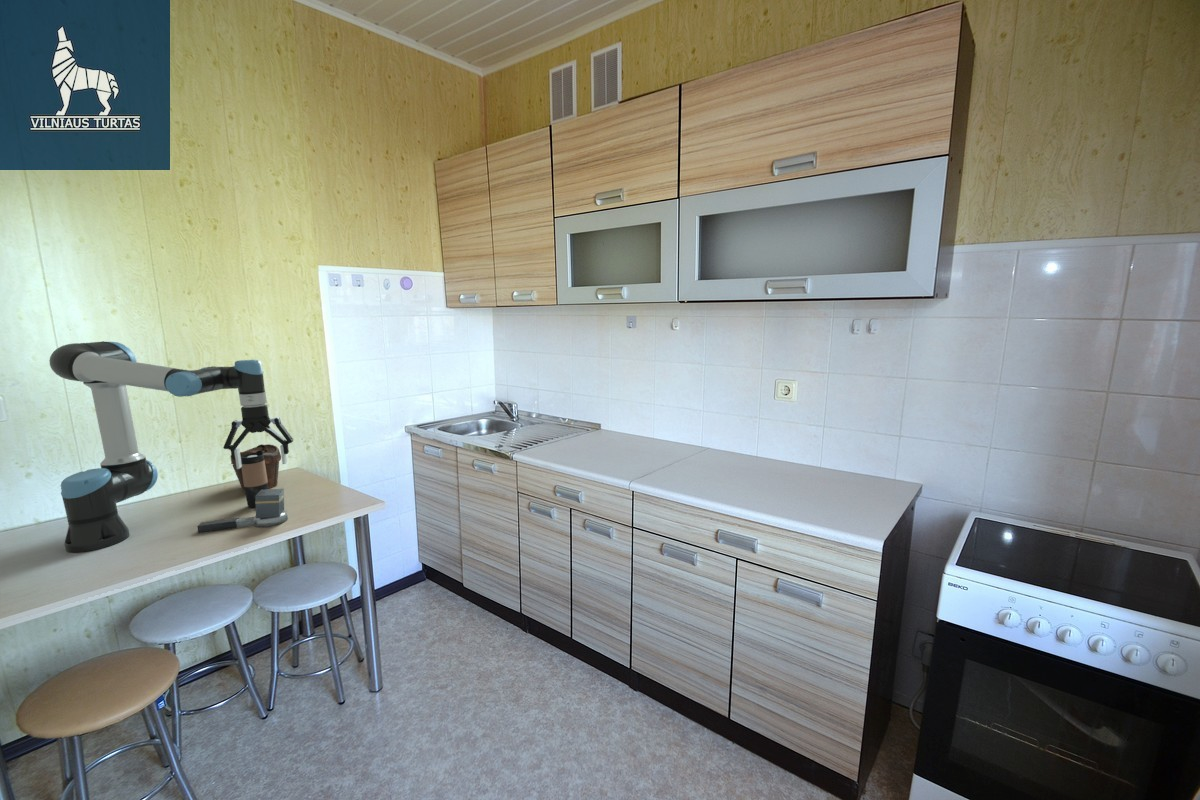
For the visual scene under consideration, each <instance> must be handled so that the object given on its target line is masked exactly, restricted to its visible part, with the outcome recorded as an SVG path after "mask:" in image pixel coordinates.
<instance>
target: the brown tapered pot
mask: <svg viewBox="0 0 1200 800" xmlns="http://www.w3.org/2000/svg"><path fill="white" fill-rule="evenodd" d="M250 453H263V454H264V461H265V467H266V473H267V480H268V489H273V488H274V487H277V486H278V484H279V483H278V479H279V470H280V469H279V468H280V461H282V456H281V450H280V449H279V448H278V447H277V445H274V444H270V443H269V444H259V445H257V446H255V447H253V448H250V449H247V450H245V451H240V456H242V455H246V454H250ZM229 458H230V461H231V463H230V465H232V468H233V470H234V472H235V473H234V474H235V476H236V477H237V480H238V483H239V486H240V487H241V490H242V491H243V492H245V489H244V482H243V475H242V468H240V469H237V466H236V460H235V459H232V455H230V457H229Z"/></svg>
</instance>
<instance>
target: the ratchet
mask: <svg viewBox="0 0 1200 800" xmlns="http://www.w3.org/2000/svg"><path fill="white" fill-rule="evenodd" d="M288 519H289V518H288V512H287V510H286V509H284V511H283V512H282V514H281V515H280V517H271V518H256V515H254V516H250V517H249V516H248V517H243V518H240V517H233V518H231V517H230V518H225V519H216V520H210V521H202V522H200V523H199V524H198V525H197V533H198V534H203V533H211V532H217V531H218V532H219V531H224V530H233V529H239V528H243V527H255V528H260V529H262V528H271V527H276V526H278V525H281V524H283V523H285V522H287V521H288Z"/></svg>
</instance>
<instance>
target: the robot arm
mask: <svg viewBox="0 0 1200 800" xmlns="http://www.w3.org/2000/svg"><path fill="white" fill-rule="evenodd" d="M49 366H50V369H51V370H52V372H53V373H55V375H57V376H58V377H60V378H62V379H64V380H68V381H75V382H82V384H83V385H84V386H86V387H88V388H90V389H91V390H90V391H91V394H92V400H93V404H94V409H95V414H96V419H97V424H98V429H99V434H100V438H101V444H102V449H103V452H104V453H103V454H104V459H103V460H102V461H101V462H100V467H99V468H90V469H87V470H85V471H79V472H76V473H73V474H71V475H68V476H67V477H65V478H64V479H63V480H62V481H61V484H60V491H61V492H60V495H61V497H62V503H63V505H64V510H65V515H66V519H67V522H68V528H67V531H66V536H65V539H64V548H65V551H66V552H68V553H83V552H84V553H85V552H90V551H95V550H99V549H104V548H107V547H110V546H113V545H115V544H118V543H120V542H123V541H124V540H127V539H128V538H129V537H130V530H129V528H128V526H127V524H126V523H125V522H124V520H123V519H122V518H121V516H120V515H119V513H118V512H119V511H118V507H117V506H118V505H117V504H118V503H121V502H124V501H126V500H129V499H131V498H134V497H136V496H139V495H142V494H143V493H145V492H148V491H150V490H151V489H152V488H153V487H154V486H155V484H156V483H157V481H158V475H159V473H158V469H157V467H156V466H155V465H154V464H153V462H152V461H150V460H148V459H147V458H146V455H144V454H142V453H140V451H139V447H138V441H137V437H136V431H135V427H134V421H133V417H132V411H131V406H130V401H129V396H128V391H127V390H128V389H127V386H130V387H131V386H132V387H136V388H141V389H142V388H143V389H150V390H156V391H162V392H169V394H172V396H174V397H178V398H183V397H192V396H196V395H199V394H200V395H201V394H204V393H209V392H213V391H214V392H215V391H219V390H229V389H237V391H238V397H239V405H240V406H241V408H240V411H241V412H240V413H241V419H242V420H237V419H235V420H233V421H232V422H231V428H230V431H229V434H228V435H227V438H226V440H225V442H224V444H223V449H224V450H229V451H230V454H231V455H232V459H235V460H236V466H237V469H240V468H241V467H242V463H241V456H240V452H241V451H240V448H239V445H240V443H242V442H243V440H244V439H245V438H246V436H247V435H248V434H249V433H251V434H255V433H263V432H264V433H267V434H269V435H270V436H271V437H272V438H274V440H276V441H277V442H279V443H280V444H281V445H280V447H279V448H280V449H279V450H280V454H281V463H282V465H286V464H287V461H288V460H287V455H288V454H289V451H290V450H289V444H292V443H293V442H294V438H293V436H292V435H291V434H290V433H289V431H288V430H287V429H286V427H285V426H284V425H283V423H282V422H281V421H282V420H281V418H280V417H279V416H277V417H275V418H270V416H269V410H268V409H269V408H268V405H267V404H268V402H267V393H266V389H265V380H264V379H265V378H264V371H263V366H262V362H261V361H260V360H259V359H242V360H241V359H240V360H236V361H235V362H234V365H233V366H206V367H201V368H200V369H199V368H198V369H192V370H191V369H189V370H188V369H182V368H177V367H176V368H175V367H169V366H163V365H156V364H151V363H145V362H137V359H136V356H135V354H134V352H133V351H132V349H131V348H129V347H128V346H126V345H125V344H123V343H122V342H121V343H120V342H118V341H104V340H103V341H95V342H94V341H91V342H80V343H78V342H77V343H76V342H75V343H68V344H65V345H64V344H63V345H62V346H59V347H57V348H56V349H55V350H54V351H52V353H51V355H50V356H49ZM271 423H272V424H273V425H275V427H276V429H278V431H279V432H280V434H281V435H280V434H279V433H278V432H277V431H275V430H274V429H273V427H271V426H270V425H271ZM241 425H242V426H243V428H244V430H243V431H241V433H240V435H239V436H238V438H237V439H236V440H235V441H234V437H235V435H236V433H237V431H238V429H239V428H240V426H241ZM233 441H234V443H233ZM231 455H230V456H231Z"/></svg>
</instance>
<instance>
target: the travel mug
mask: <svg viewBox="0 0 1200 800" xmlns="http://www.w3.org/2000/svg"><path fill="white" fill-rule="evenodd" d="M241 463H242V467H241V468H242V475H243V482H244V489H245V491H244V494H245V497H246V503H247V508H248V509H253V510H254V509H255V510H256V504H255V501H256V500H255V496H256V495H257V494H258V493H259V491H260V490H261V489H268V480H267V473H266V467H265V461H264V454H263V453H250V454H246V455H242V456H241Z"/></svg>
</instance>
